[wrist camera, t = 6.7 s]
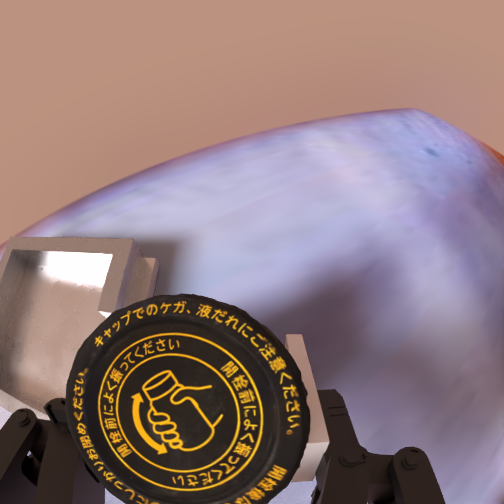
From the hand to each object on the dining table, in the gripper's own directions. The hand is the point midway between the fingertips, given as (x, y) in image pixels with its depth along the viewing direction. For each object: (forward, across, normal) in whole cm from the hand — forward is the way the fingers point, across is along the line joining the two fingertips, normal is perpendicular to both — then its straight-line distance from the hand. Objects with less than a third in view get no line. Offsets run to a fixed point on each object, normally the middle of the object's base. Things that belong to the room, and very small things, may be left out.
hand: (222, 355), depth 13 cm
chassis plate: (+2, -13, -2) cm, 14 cm away
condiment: (0, 0, -5) cm, 5 cm away
